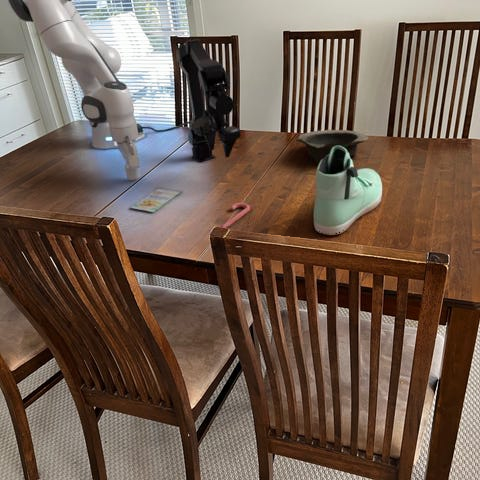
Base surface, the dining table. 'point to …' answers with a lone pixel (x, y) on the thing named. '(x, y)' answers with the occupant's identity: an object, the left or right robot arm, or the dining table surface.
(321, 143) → the stone bowl
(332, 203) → the sneaker
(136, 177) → the canister
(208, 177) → the dining table surface
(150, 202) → the baking ingredient package
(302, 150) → the dining table surface
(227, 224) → the candy cane
